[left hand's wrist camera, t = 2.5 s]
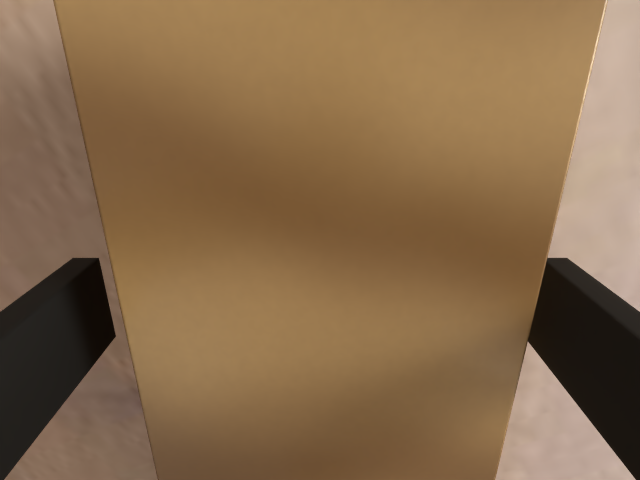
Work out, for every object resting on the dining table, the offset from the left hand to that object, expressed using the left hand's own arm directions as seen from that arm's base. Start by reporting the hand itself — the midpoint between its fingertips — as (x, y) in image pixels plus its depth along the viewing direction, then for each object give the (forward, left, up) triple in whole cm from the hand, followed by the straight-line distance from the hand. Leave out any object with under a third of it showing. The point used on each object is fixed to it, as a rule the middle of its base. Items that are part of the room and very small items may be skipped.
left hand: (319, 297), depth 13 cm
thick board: (+19, 0, -5) cm, 20 cm away
